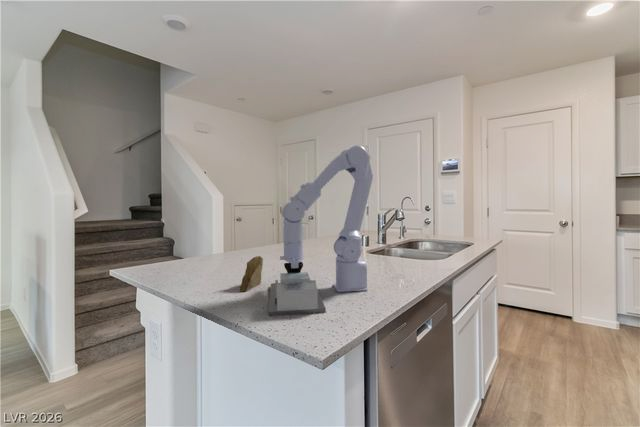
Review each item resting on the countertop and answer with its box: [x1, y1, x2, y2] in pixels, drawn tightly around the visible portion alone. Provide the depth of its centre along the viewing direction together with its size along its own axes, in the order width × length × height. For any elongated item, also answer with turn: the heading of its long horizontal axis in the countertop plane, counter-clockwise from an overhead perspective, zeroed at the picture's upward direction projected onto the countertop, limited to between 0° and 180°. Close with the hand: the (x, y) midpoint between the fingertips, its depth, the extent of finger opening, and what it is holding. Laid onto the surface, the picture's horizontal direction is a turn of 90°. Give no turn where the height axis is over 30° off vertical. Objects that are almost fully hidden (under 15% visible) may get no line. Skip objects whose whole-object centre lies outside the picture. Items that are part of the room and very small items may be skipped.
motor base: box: [268, 279, 327, 317], centre depth 88 cm, size 14×25×6 cm, turn 8°
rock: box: [239, 255, 264, 292], centre depth 99 cm, size 11×9×10 cm
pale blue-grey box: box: [279, 271, 317, 286], centre depth 86 cm, size 10×9×5 cm
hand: (293, 286), depth 92 cm, fingers closed
